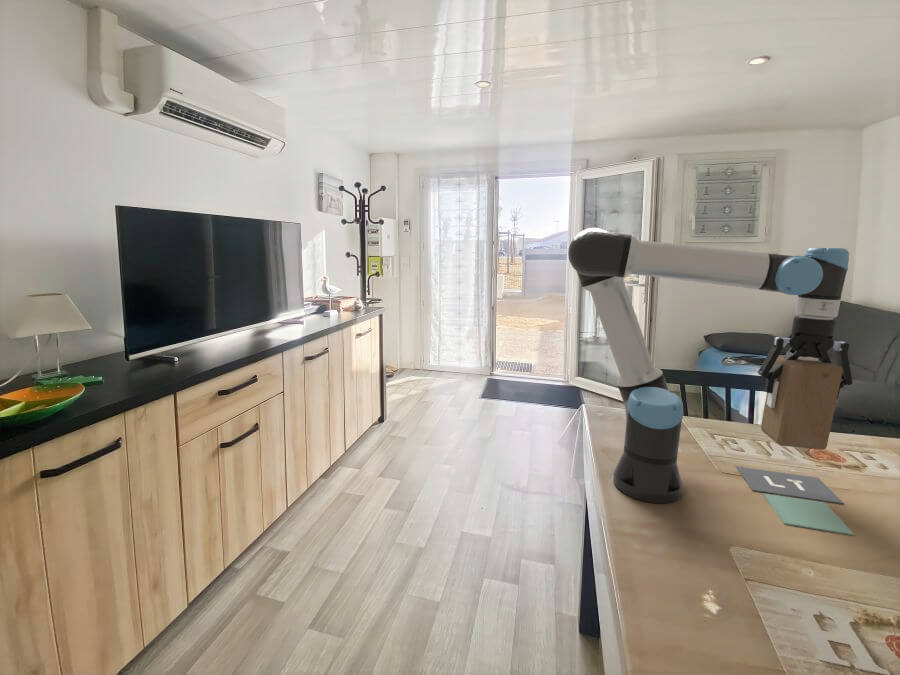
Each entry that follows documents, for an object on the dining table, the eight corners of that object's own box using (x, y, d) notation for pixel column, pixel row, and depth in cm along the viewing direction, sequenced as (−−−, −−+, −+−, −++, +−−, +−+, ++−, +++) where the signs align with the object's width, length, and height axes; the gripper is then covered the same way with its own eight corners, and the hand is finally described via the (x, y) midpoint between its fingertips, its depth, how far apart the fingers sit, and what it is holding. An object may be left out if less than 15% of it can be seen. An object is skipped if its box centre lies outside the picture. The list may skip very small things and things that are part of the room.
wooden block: (828, 451, 100) (846, 367, 96) (778, 447, 102) (794, 364, 98) (802, 434, 109) (818, 356, 105) (758, 429, 111) (771, 353, 107)
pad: (784, 524, 92) (784, 522, 92) (763, 494, 103) (763, 493, 103) (854, 535, 88) (854, 534, 88) (824, 503, 100) (824, 502, 100)
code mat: (751, 490, 105) (752, 489, 105) (736, 467, 116) (736, 466, 116) (843, 504, 99) (843, 502, 99) (817, 478, 111) (818, 477, 111)
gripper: (762, 315, 99) (747, 408, 104) (888, 323, 93) (865, 421, 97) (751, 311, 106) (737, 398, 111) (867, 317, 100) (847, 409, 104)
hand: (797, 408), depth 104 cm, fingers closed on wooden block, 10 cm apart
